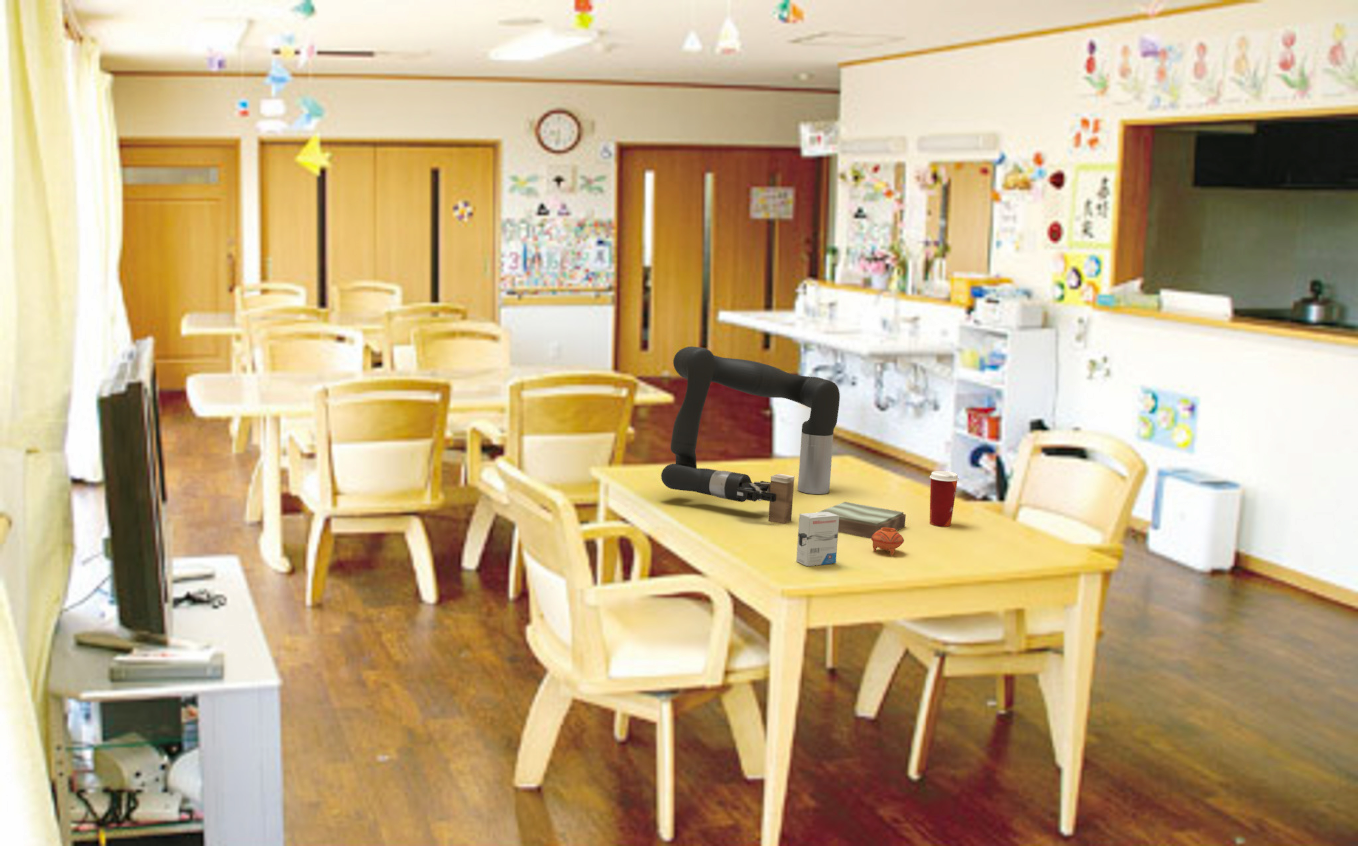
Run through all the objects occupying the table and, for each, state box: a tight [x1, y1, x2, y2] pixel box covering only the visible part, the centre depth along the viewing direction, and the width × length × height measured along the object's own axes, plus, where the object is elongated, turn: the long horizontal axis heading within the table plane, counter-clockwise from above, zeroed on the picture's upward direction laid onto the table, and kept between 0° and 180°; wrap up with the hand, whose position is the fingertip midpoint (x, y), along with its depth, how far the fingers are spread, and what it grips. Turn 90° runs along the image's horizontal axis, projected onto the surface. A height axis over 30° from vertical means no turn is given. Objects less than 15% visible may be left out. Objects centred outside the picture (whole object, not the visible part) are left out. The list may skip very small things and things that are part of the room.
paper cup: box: [929, 470, 959, 528], centre depth 374 cm, size 8×8×14 cm
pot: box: [870, 527, 905, 556], centre depth 342 cm, size 8×8×7 cm
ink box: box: [796, 511, 839, 567], centre depth 328 cm, size 8×5×12 cm, turn 118°
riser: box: [816, 501, 907, 539], centre depth 366 cm, size 18×18×4 cm
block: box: [767, 473, 795, 525], centre depth 368 cm, size 5×5×12 cm
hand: (783, 495), depth 367 cm, fingers open, 8 cm apart
